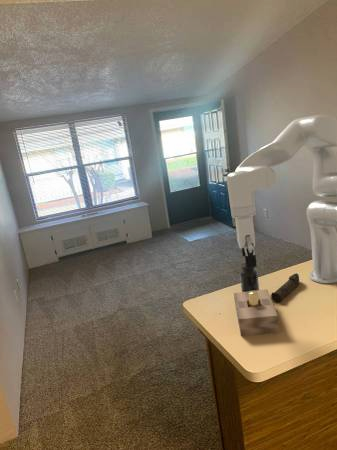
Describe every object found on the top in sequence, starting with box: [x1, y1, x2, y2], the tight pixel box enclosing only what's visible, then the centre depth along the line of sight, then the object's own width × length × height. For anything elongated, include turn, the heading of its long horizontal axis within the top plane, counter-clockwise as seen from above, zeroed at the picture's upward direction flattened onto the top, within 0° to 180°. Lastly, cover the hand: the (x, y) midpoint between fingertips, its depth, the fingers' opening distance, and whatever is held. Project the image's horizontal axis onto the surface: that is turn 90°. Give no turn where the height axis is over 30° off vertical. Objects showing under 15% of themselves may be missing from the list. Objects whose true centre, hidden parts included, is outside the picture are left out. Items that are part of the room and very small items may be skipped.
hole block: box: [233, 289, 280, 337], centre depth 113 cm, size 12×18×6 cm, turn 174°
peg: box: [248, 291, 259, 307], centre depth 112 cm, size 3×3×10 cm
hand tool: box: [270, 273, 300, 303], centre depth 127 cm, size 19×4×5 cm, turn 132°
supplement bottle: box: [239, 262, 260, 292], centre depth 131 cm, size 7×7×12 cm
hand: (249, 260), depth 108 cm, fingers open, 9 cm apart
